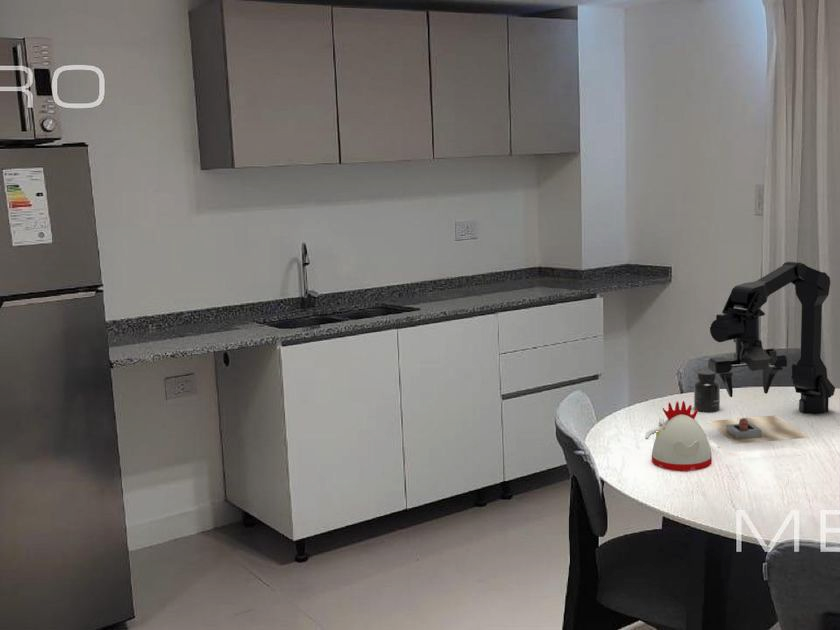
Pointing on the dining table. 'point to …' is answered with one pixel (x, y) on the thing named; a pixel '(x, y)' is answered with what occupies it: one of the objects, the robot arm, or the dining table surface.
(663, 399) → the dining table surface
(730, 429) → the grey square frame
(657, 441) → the kitchen timer
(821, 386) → the robot arm
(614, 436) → the dining table surface
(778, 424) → the keeper board
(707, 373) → the supplement bottle
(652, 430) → the pliers
